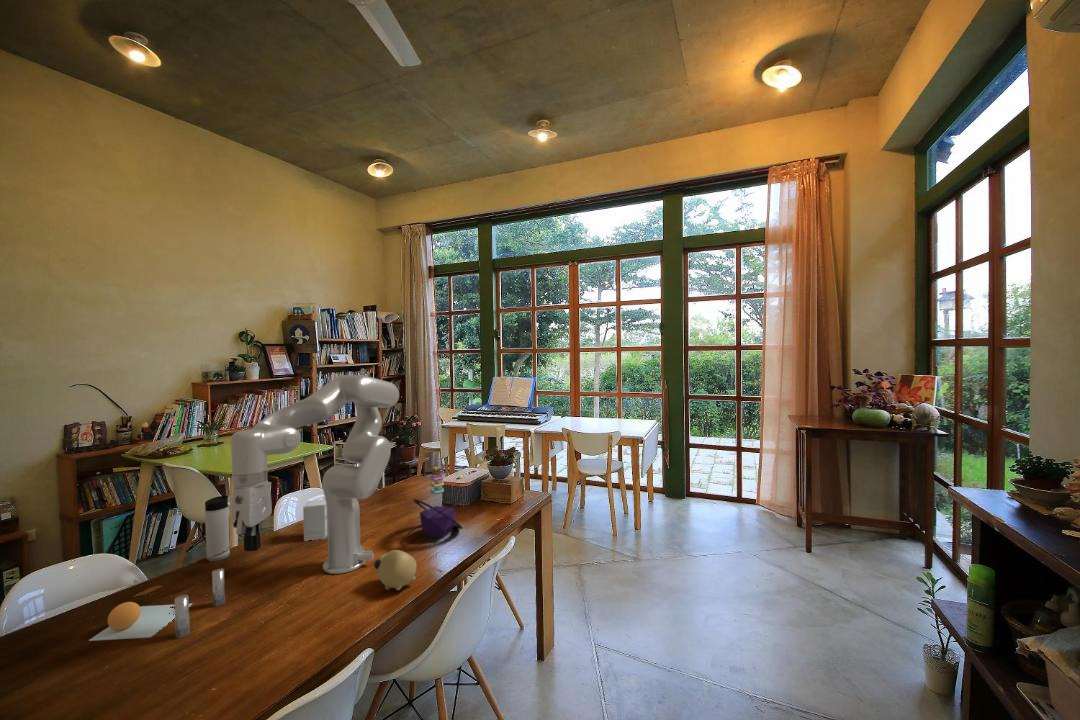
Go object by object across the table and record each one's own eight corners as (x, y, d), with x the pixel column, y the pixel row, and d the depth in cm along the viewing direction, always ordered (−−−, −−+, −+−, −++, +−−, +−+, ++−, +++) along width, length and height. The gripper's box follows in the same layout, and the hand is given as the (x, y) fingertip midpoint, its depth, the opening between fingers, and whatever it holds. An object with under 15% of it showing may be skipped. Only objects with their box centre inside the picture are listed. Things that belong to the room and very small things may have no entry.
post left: (192, 630, 107) (191, 594, 107) (184, 637, 105) (183, 600, 105) (181, 631, 107) (179, 594, 107) (172, 638, 105) (171, 600, 105)
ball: (116, 618, 112) (141, 624, 112) (96, 631, 106) (122, 637, 106) (125, 595, 112) (150, 600, 113) (106, 606, 106) (132, 612, 107)
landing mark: (193, 604, 119) (193, 603, 119) (150, 637, 105) (150, 636, 105) (139, 607, 118) (138, 606, 118) (88, 641, 104) (88, 640, 104)
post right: (227, 600, 120) (226, 568, 120) (220, 606, 118) (219, 572, 118) (217, 601, 120) (216, 568, 120) (210, 606, 118) (209, 573, 118)
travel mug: (235, 554, 150) (233, 495, 149) (215, 563, 143) (213, 501, 143) (222, 551, 152) (220, 494, 151) (202, 560, 145) (200, 500, 145)
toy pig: (396, 573, 134) (395, 538, 134) (423, 584, 127) (422, 547, 127) (368, 588, 125) (367, 551, 125) (396, 600, 119) (394, 561, 119)
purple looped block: (480, 533, 162) (478, 465, 162) (432, 554, 146) (430, 479, 146) (442, 519, 177) (441, 457, 176) (395, 537, 161) (393, 468, 160)
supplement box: (325, 539, 160) (324, 504, 160) (303, 541, 158) (302, 506, 158) (330, 531, 167) (329, 498, 167) (309, 533, 166) (308, 500, 165)
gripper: (247, 486, 106) (250, 562, 106) (280, 470, 121) (282, 536, 121) (215, 488, 105) (217, 564, 105) (252, 471, 120) (254, 538, 120)
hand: (252, 549), depth 113 cm, fingers closed
